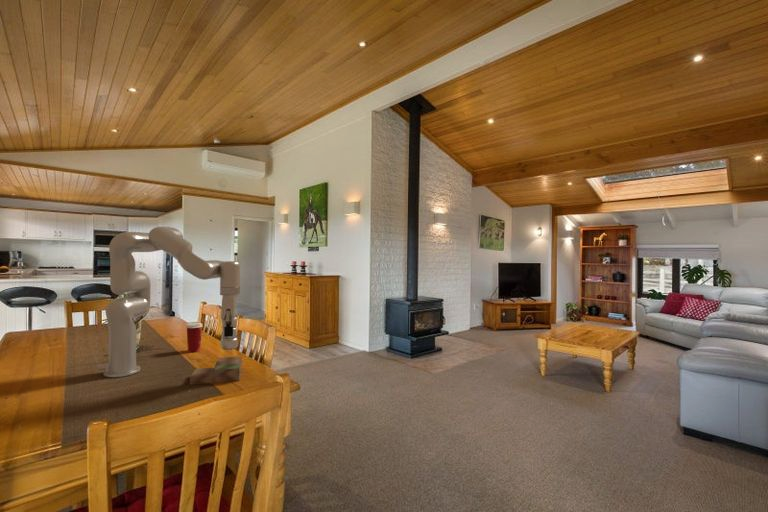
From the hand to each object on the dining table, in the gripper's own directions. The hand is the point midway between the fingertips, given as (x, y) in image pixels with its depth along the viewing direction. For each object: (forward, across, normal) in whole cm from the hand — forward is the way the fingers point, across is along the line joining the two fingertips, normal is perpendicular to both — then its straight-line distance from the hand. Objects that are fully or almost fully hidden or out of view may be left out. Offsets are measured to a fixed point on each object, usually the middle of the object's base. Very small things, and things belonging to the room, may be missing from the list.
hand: (229, 334), depth 150 cm
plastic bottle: (+7, 0, 0) cm, 7 cm away
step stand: (+18, 0, -5) cm, 19 cm away
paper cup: (+18, -44, -22) cm, 52 cm away
